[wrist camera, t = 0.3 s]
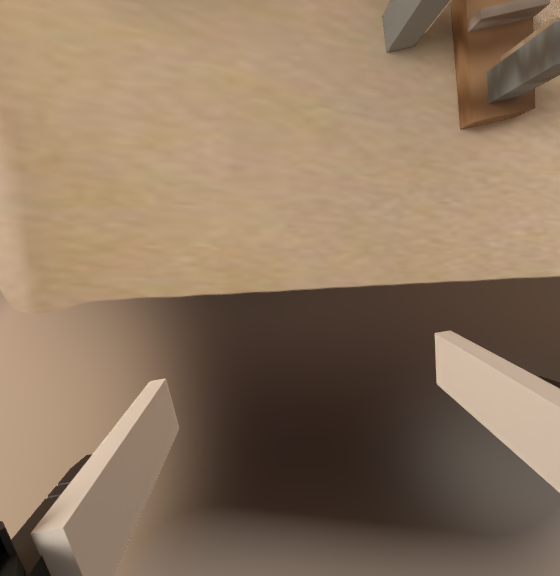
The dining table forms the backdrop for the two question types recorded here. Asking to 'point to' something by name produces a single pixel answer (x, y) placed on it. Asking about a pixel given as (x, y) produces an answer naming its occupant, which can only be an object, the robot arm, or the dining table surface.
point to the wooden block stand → (501, 57)
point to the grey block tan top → (409, 21)
